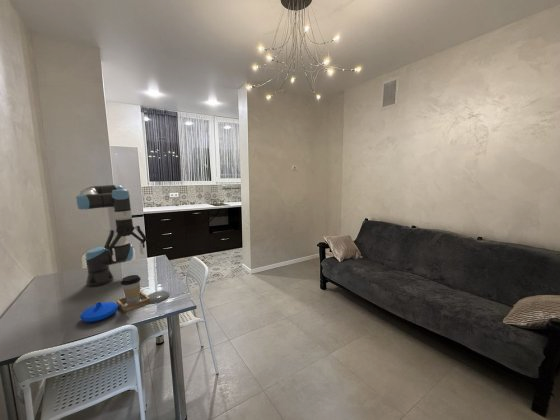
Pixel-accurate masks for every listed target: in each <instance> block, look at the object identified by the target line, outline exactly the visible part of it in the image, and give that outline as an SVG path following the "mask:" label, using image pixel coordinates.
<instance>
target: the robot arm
mask: <svg viewBox="0 0 560 420" xmlns="http://www.w3.org/2000/svg"><path fill="white" fill-rule="evenodd" d="M75 197H76V198H75V199H76V205H77V209H78V210H81V211H82V210H93V209H94V210H95V209H101V208H103V209H104V208H106V209H107V214H108V221H109V222H108V223H109V233H108V234H109V235H108V236H107V240H106V242H105V244H104V246H98V247H97V246H96V247H94V248H91V249H89V250H88V251H86V252H85V253H84V254H85V261H86V267H87V268H86V269H87V278H86V281H85V284H86V287H88V286H89V287H90V288H96V287H100V286H101V287H102V286H104V285H108V284H109V283H111V282H113V281H114V279H115V278H114V274H113V272H112V271H111V269H110V266H111V265H112V266H113V265H117V264H122V263H127V262H130V261H132V259H133V257H134V249H133V248H134V247H133V244H132V243H130V241H129V240H127V237H128V236H133V237H134V238H136V239H137V240H138V241H139V242H138V243H139V252H140V254H141V255H145V252H144V248H145V247H146V245H145V242H146V241H149V240H148V238H147V236H146V235H145V234H144V232H143V231H142V230H141V226H140V225H134V224H133V223H134V222H133V218H132V217H133V216H132V214H133V213H132V207H131V200H130V197H131V196H130V192H129V190H128V189H126V188H124V187H123V185H120V184H108V185H94V186H88V187H86V188H84V189H82V190H81V191H80V193H79V195H76V196H75ZM135 230H136V231H137V233H138V234H139V235H140V236H139V235H138V234H136V233H135V232H134V231H135ZM89 287H88V288H89Z"/></svg>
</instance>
